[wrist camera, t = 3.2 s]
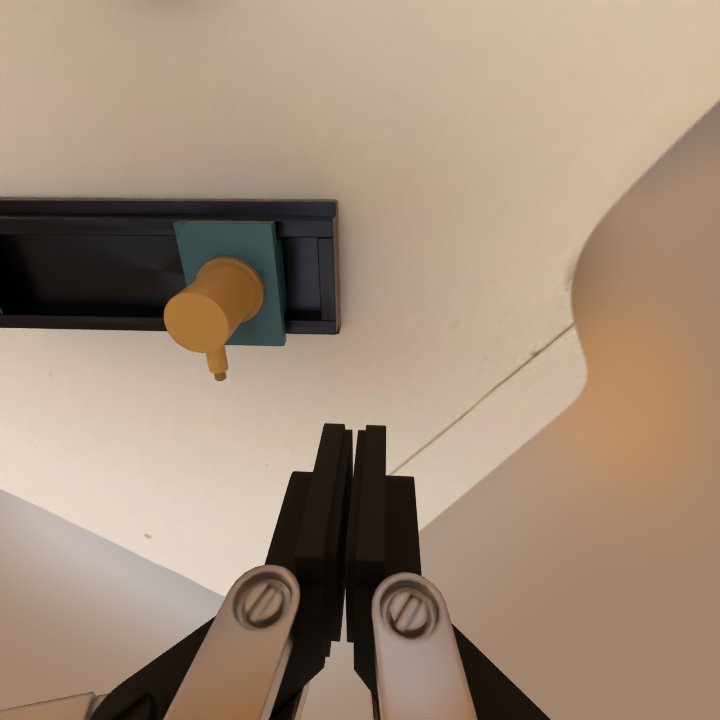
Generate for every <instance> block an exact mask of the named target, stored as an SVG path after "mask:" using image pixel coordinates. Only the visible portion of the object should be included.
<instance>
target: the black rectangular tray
mask: <svg viewBox="0 0 720 720" xmlns="http://www.w3.org/2000/svg"><path fill="white" fill-rule="evenodd" d="M179 220H182V221H274V222H275V229H276V237H279V238H281V240H282V251H283V262H284V273H285V283H286V294H287V305H288V308H287V310H286V311H285V313H284V321H285V331H286V334H330V335H336V334H339V332H340V328H341V322H340V284H339V246H338V207H337V200H303V199H124V198H0V328H40V329H89V330H137V331H167V329H166V326H165V323H164V310H165V307H166V305H167V303H168V302H169V300H170V299H171V298H173V297H174V296H175V295H177V294H178V293H179V292H181V291H182V290H183V289H185V288H186V287H187V285H186V281H185V276H184V271H183V267H182V262H181V258H180V253H179V248H178V244H177V239H176V234H175V230H174V225H173V223H174V222H177V221H179Z"/></svg>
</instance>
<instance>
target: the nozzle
mask: <svg viewBox="0 0 720 720" xmlns="http://www.w3.org/2000/svg"><path fill="white" fill-rule="evenodd" d="M173 225H174V230H175V234H176V239H177V244H178V248H179V253H180V258H181V262H182V267H183V271H184V276H185V281H186V285H187V287H186V288H185V289H183V290H182V291H181V292H179V293H178V294H177V295H175V296H174V297H173V298H171V299H170V300H169V302H168V303H167V305H166V307H165V310H164V323H165V326H166V329H167V331H168V332H169V334H170V336H171V337H172V338H173V339H174V340H175V341H176V342H177V343H178V344H179V345H181V346H182V347H184V348H186V349H188V350H190V351H194V352H198V353H206V356H207V361H208V365H209V370H210V372H211V373H214V376H215V379H216V380H217V381H223V380H225V379H226V373H225V371H227V369H228V363H227V358H226V352H225V346H224V345H256V346H284V345H285V343H286V331H285V321H284V313H285V311H286V310H287V308H288V305H287V294H286V283H285V273H284V262H283V251H282V240H281V238H279V237H276V229H275V222H274V221H182V220H179V221H177V222H174V223H173Z"/></svg>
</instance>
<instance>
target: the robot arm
mask: <svg viewBox="0 0 720 720" xmlns="http://www.w3.org/2000/svg"><path fill="white" fill-rule="evenodd" d="M345 588H346V621H347V642H352V643H354V670H355V671H356V673H357V674H358V675H359V677H360V678H361V679H362V680H363V682H364V683H365V685H366V686H367V687H368V689H369V690H370V700H371V712H372V720H550V719H549V717H547V716H546V715H545V714H544V713H543V712H542V711H541V710H540V709H539V708H538V707H537V706H536V705H535V704H534V703H533V702H532V701H531V700H530V699H529V698H528V697H527V696H526V695H525V694H524V693H523V692H522V691H521V690H520V689H519V688H518V687H517V686H515V684H514V683H513V682H511V681H510V680H509V679H508V678H507V677H506V676H505V675H504V674H503V673H502V672H501V671H500V670H499V669H498V668H497V667H496V666H495V665H494V664H493V663H492V662H491V661H490V660H489V659H488V658H487V657H486V656H485V655H484V654H483V653H482V652H481V651H479V650H478V649H477V647H475V646H474V645H473V644H472V643H471V642H470V641H469V640H468V639H467V638H466V637H465V636H464V635H463V634H462V633H461V632H460V631H459V630H458V629H457V628H456V627H455V626H454V625H453V624H452V623H451V620H450V616H449V613H448V609H447V605H446V603H445V601H444V598H443V596H442V594H441V592H440V591H439V590H438V588H437V587H436V586H435V585H434V584H433V583H432V582H430V581H429V580H428V579H426V578H425V577H422V575H421V563H420V548H419V535H418V522H417V509H416V496H415V483H414V477H409V476H387V475H386V426H380V425H366V430H358V437H357V446H356V455H355V465H354V474H353V438H352V430H345V424H327V423H325V424H324V427H323V431H322V436H321V440H320V445H319V449H318V453H317V458H316V462H315V466H314V471H313V472H299V471H293V473H292V474H291V477H290V480H289V484H288V487H287V490H286V494H285V497H284V500H283V504H282V507H281V511H280V514H279V517H278V521H277V524H276V528H275V531H274V534H273V538H272V541H271V545H270V548H269V551H268V555H267V558H266V562H265V565H263V566H258V567H255V568H253V569H251V570H249V571H247V572H245V573H244V574H243V575H242V576H241V577H240V578H238V579H237V580H236V581H235V583H234V584H233V586H232V587H231V589H230V590H229V592H228V594H227V596H226V598H225V600H224V602H223V604H222V606H221V608H220V609H219V611H218V613H217V615H216V616H215V617H214V618H212V619H211V620H209V621H208V622H207V623H205V624H204V625H203V626H201V627H200V628H198V629H197V630H195V631H194V632H193V633H191V634H190V635H188V636H187V637H186V638H184V639H183V640H181V641H180V642H179V643H177V644H176V645H175V646H173V647H172V648H170V649H169V650H167V651H166V652H165V653H163V654H162V655H160V656H159V657H158V658H156V659H155V660H153V661H152V662H151V663H149V664H148V665H146V666H145V667H144V668H142V669H141V670H139V671H138V672H137V673H135V674H134V675H132V676H131V677H130V678H128V679H127V680H125V681H124V682H123V683H121V684H120V685H119V686H117V687H116V688H115V689H114V690H113V691H112V692H111V693H109V694H104V695H99V696H96V695H95V693H94V692H89V693H84V694H79V695H74V696H68V697H63V698H59V699H53V700H48V701H43V702H38V703H33V704H28V705H23V706H18V707H13V708H8V709H3V710H0V720H300V718H301V714H302V711H303V707H304V703H305V700H306V696H307V692H308V688H309V682H310V680H311V679H312V678H313V677H314V676H315V675H316V674H318V672H320V671H321V670H322V669H323V668H324V664H325V657H329V656H330V648H331V641H338V642H339V641H340V637H341V627H342V616H343V606H344V596H345Z"/></svg>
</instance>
